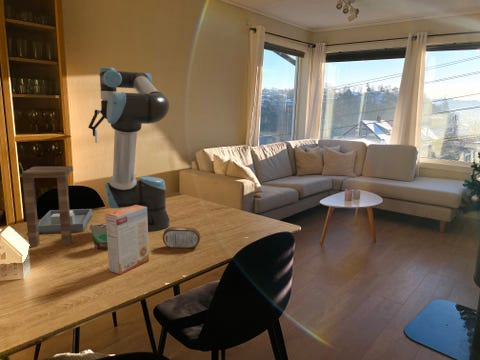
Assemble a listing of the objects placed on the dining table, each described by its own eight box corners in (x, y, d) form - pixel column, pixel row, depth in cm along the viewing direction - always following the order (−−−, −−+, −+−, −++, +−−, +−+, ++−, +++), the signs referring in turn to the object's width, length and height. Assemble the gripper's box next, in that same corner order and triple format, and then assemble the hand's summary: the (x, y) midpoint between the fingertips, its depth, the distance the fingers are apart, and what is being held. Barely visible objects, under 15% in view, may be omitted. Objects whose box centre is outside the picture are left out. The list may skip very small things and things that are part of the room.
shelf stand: (69, 245, 145) (64, 172, 138) (28, 247, 141) (21, 172, 135) (77, 233, 158) (72, 166, 152) (39, 235, 154) (33, 166, 148)
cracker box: (137, 257, 135) (136, 203, 131) (149, 261, 132) (148, 206, 128) (107, 271, 123) (104, 213, 119) (119, 275, 121) (117, 216, 116)
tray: (83, 231, 160) (83, 223, 160) (35, 233, 156) (34, 225, 155) (92, 215, 183) (91, 208, 182) (50, 217, 178) (49, 210, 178)
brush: (72, 226, 163) (72, 215, 162) (51, 227, 161) (50, 216, 160) (79, 215, 179) (79, 206, 178) (60, 216, 177) (59, 206, 176)
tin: (200, 246, 148) (200, 226, 146) (199, 249, 145) (199, 229, 143) (163, 245, 147) (163, 226, 145) (162, 248, 144) (161, 228, 142)
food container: (92, 253, 137) (90, 228, 135) (90, 247, 143) (89, 223, 141) (125, 248, 143) (124, 224, 141) (122, 243, 148) (121, 220, 146)
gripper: (135, 101, 184) (136, 142, 189) (83, 99, 179) (86, 141, 183) (134, 100, 177) (136, 143, 181) (80, 99, 171) (83, 143, 176)
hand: (110, 142), depth 182 cm, fingers open, 13 cm apart
